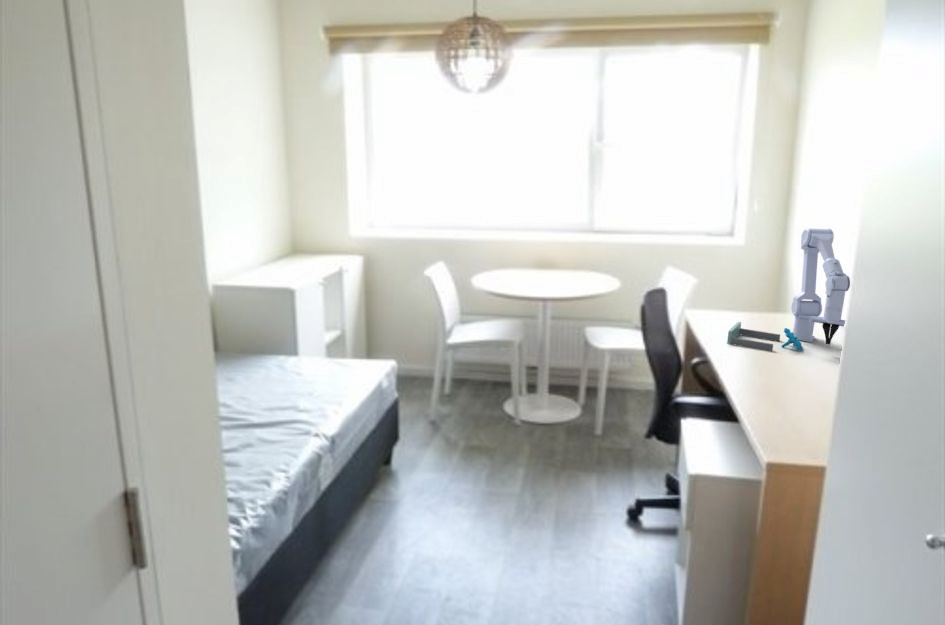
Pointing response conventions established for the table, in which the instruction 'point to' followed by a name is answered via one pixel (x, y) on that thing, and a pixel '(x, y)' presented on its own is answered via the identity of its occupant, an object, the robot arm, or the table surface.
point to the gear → (792, 340)
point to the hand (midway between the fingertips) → (827, 343)
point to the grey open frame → (749, 343)
